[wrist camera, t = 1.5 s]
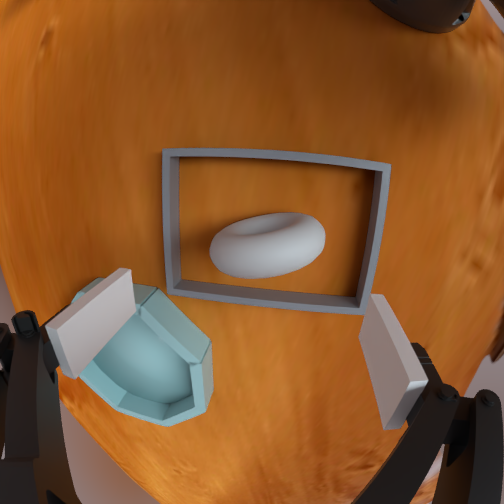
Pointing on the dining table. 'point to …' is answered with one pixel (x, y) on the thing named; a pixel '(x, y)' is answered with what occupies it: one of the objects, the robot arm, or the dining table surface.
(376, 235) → the grey rectangular frame
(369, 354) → the robot arm
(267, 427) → the dining table surface
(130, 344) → the bowl
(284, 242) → the donut
